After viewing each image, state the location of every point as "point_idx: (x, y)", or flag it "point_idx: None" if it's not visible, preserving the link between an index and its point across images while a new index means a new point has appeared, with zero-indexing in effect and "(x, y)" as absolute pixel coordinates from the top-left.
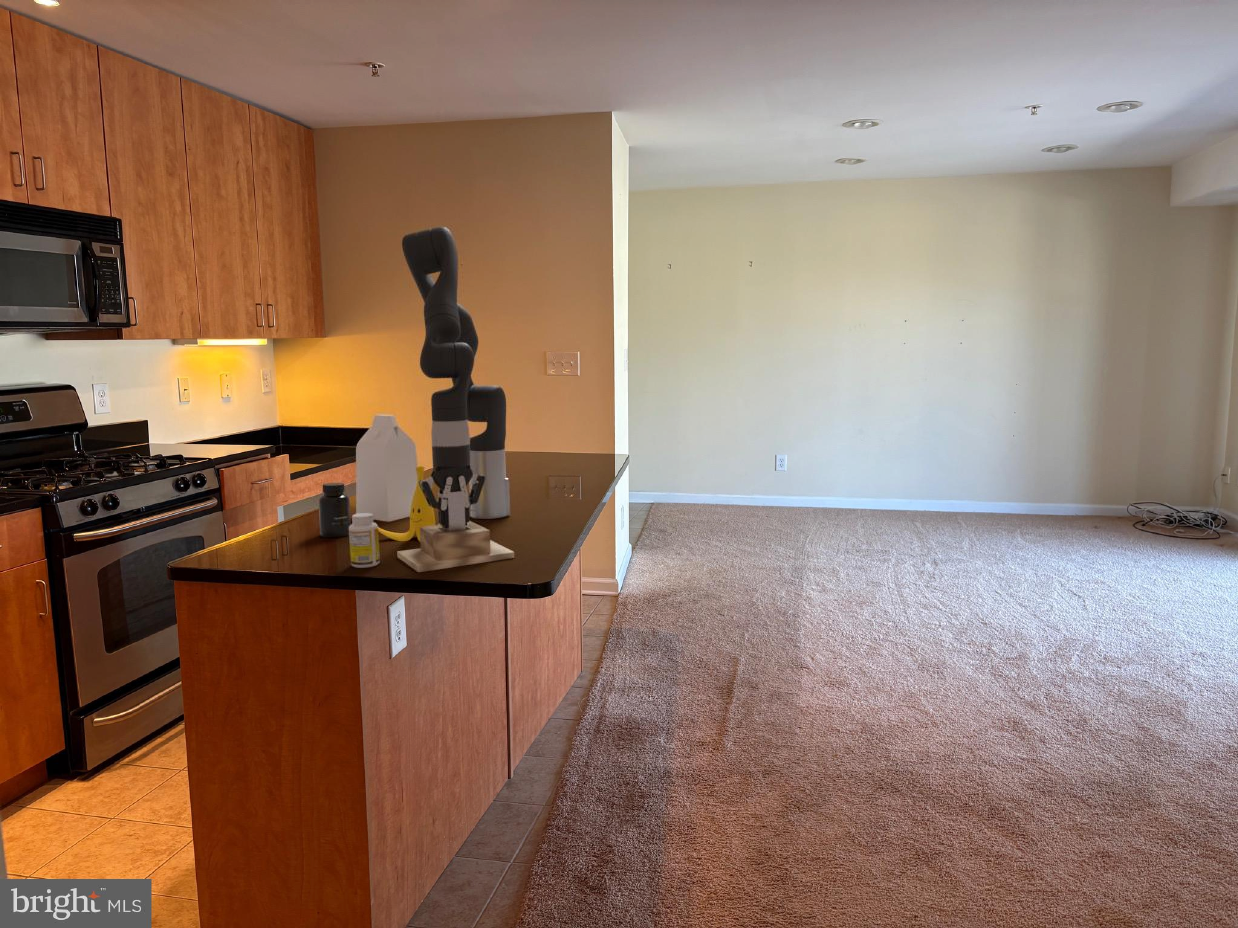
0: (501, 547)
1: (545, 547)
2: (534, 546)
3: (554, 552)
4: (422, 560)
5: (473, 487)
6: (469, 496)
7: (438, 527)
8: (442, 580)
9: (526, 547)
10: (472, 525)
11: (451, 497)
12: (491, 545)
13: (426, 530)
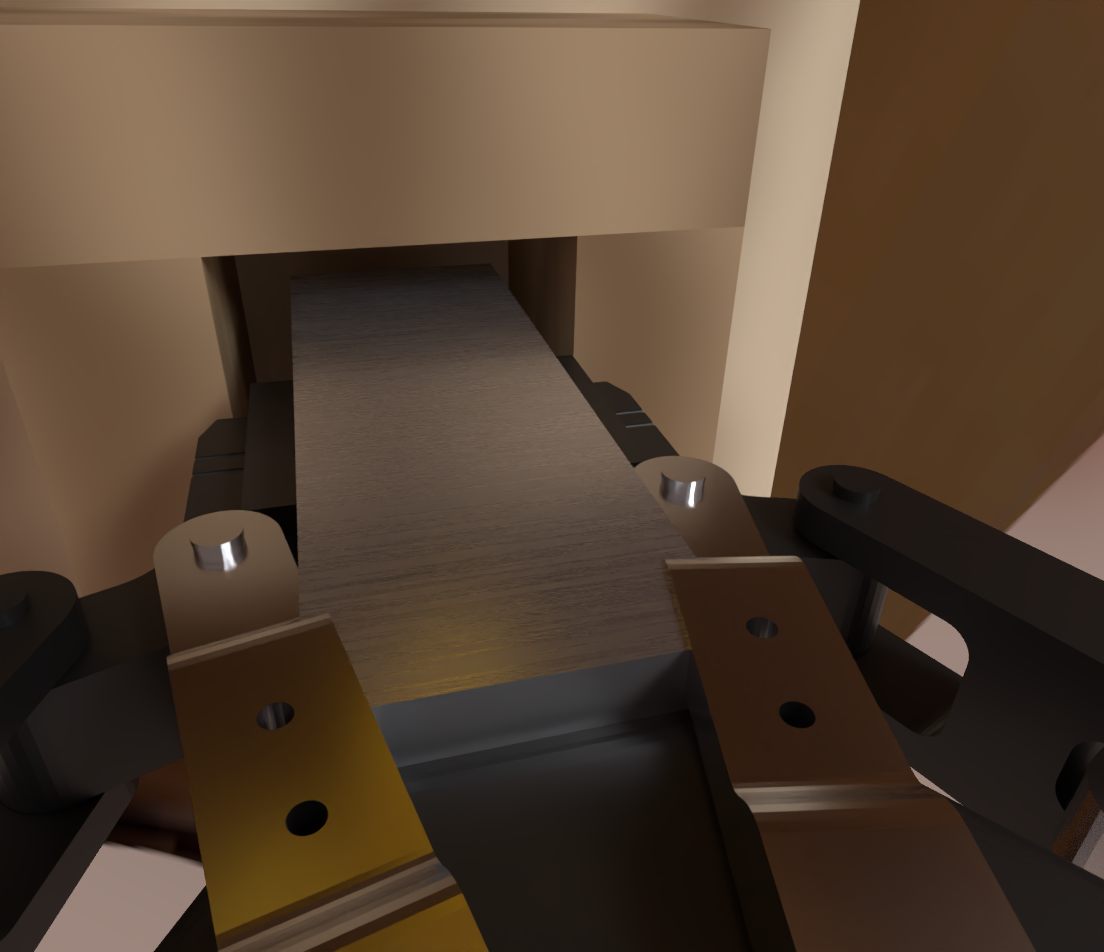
0: (771, 360)
1: (1054, 331)
2: (1032, 261)
3: (993, 480)
4: (5, 488)
5: (1023, 696)
6: (848, 547)
7: (225, 227)
8: (144, 812)
9: (977, 260)
10: (662, 337)
11: None
12: (749, 246)
13: (11, 341)
